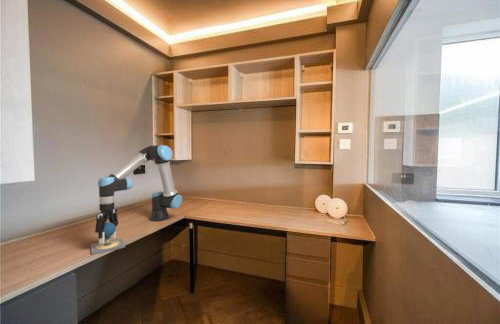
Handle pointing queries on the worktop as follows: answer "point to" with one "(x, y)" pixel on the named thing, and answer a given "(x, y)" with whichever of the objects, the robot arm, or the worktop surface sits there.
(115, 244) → the socket board
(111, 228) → the light bulb
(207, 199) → the worktop surface
